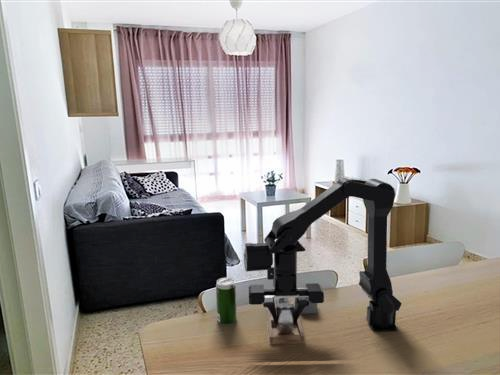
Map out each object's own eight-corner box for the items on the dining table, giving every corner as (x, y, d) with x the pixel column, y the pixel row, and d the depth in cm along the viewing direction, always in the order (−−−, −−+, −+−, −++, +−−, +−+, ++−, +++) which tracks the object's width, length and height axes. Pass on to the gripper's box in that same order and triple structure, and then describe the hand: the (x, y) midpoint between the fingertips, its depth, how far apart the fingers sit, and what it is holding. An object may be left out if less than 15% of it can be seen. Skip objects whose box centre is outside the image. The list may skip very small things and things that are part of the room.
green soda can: (223, 329, 103) (222, 287, 101) (213, 320, 108) (212, 280, 105) (240, 322, 106) (239, 282, 104) (230, 314, 111) (229, 275, 108)
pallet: (295, 308, 114) (296, 301, 113) (305, 345, 96) (305, 337, 96) (265, 308, 114) (265, 302, 113) (268, 345, 96) (268, 338, 95)
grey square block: (314, 306, 115) (314, 293, 114) (317, 315, 110) (317, 302, 109) (297, 306, 115) (297, 294, 114) (299, 315, 110) (299, 302, 109)
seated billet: (289, 311, 111) (289, 291, 110) (290, 319, 107) (290, 299, 105) (273, 311, 111) (273, 292, 110) (274, 319, 107) (274, 299, 105)
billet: (292, 323, 102) (292, 302, 101) (294, 332, 98) (294, 311, 97) (276, 323, 102) (276, 302, 101) (277, 333, 98) (277, 311, 97)
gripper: (316, 254, 105) (315, 307, 108) (248, 256, 105) (249, 308, 108) (324, 271, 94) (323, 329, 97) (248, 273, 94) (249, 331, 97)
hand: (285, 323), depth 100 cm, fingers closed on billet, 4 cm apart
